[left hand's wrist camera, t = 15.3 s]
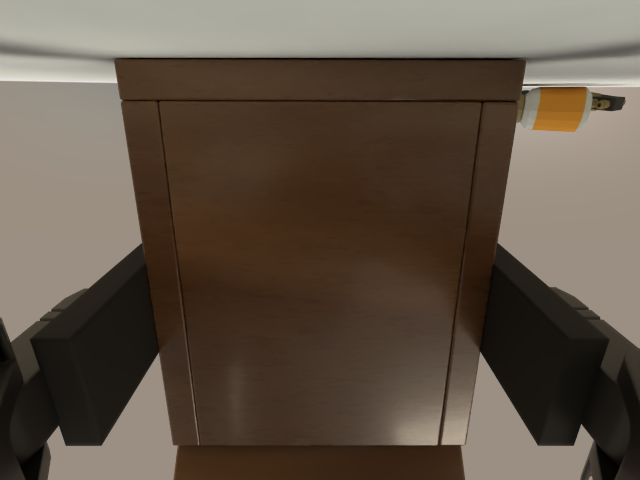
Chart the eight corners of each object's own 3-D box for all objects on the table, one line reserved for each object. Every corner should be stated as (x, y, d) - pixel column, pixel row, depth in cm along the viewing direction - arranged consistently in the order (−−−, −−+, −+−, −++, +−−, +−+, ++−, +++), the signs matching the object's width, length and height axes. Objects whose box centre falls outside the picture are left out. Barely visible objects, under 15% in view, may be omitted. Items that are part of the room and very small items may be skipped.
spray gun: (634, 80, 43) (499, 78, 52) (607, 90, 32) (443, 85, 41) (622, 119, 45) (494, 110, 54) (593, 141, 34) (438, 125, 43)
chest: (389, 97, 25) (380, 253, 29) (250, 97, 25) (258, 253, 29) (527, 59, 8) (466, 446, 12) (112, 58, 8) (172, 446, 12)
